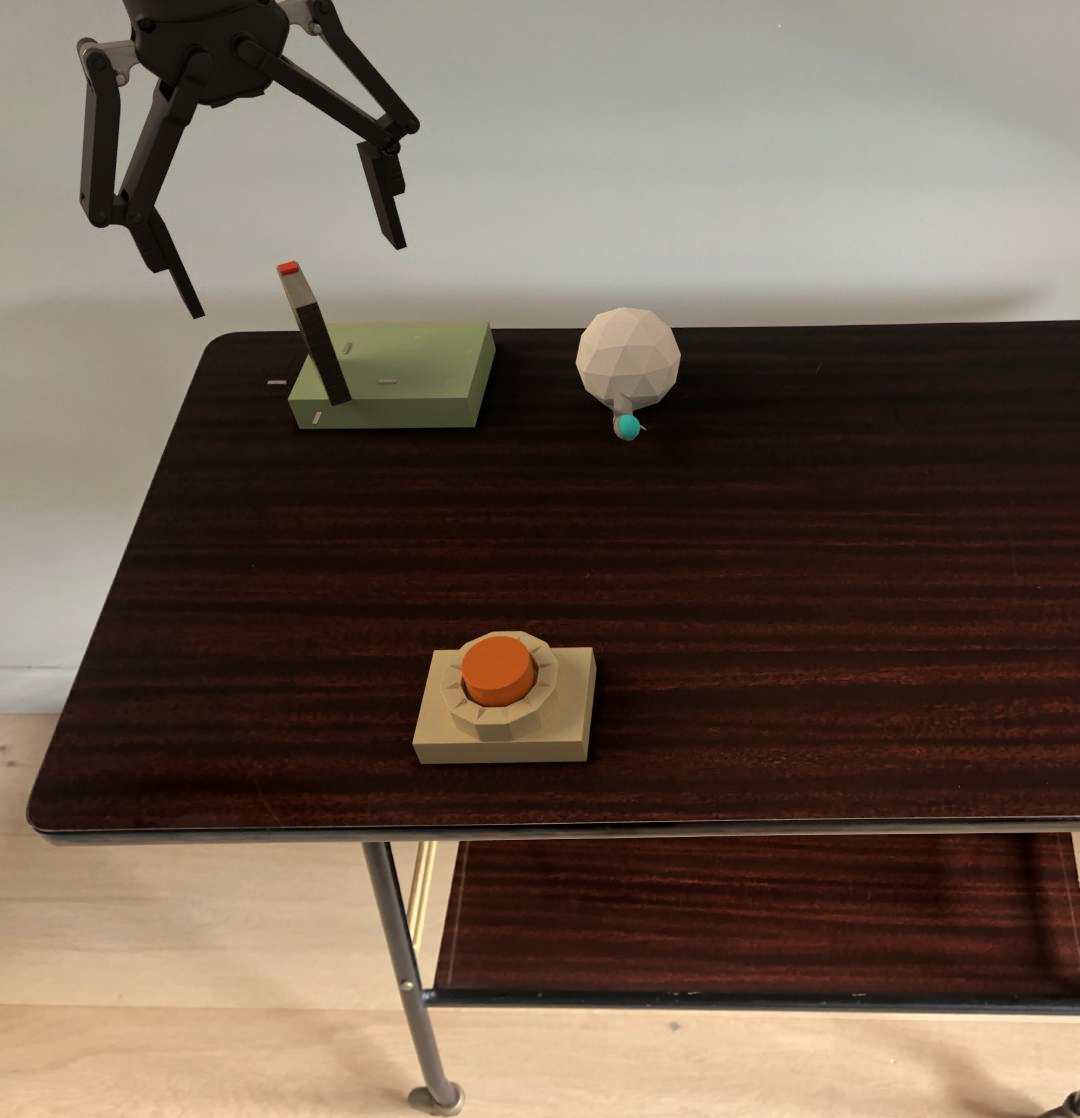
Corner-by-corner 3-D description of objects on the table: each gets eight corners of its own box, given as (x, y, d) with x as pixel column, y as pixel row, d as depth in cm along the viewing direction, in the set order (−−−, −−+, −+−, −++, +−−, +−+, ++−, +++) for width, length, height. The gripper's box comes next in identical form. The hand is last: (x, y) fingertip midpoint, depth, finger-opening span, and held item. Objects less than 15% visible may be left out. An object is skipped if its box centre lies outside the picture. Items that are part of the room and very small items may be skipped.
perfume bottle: (697, 324, 92) (708, 435, 85) (621, 373, 95) (625, 483, 88) (632, 266, 86) (639, 379, 79) (554, 321, 90) (554, 433, 83)
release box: (420, 764, 68) (404, 726, 65) (441, 671, 73) (427, 631, 70) (586, 761, 68) (577, 723, 65) (596, 668, 73) (588, 628, 70)
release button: (462, 707, 66) (455, 690, 65) (473, 654, 69) (467, 636, 68) (529, 706, 66) (524, 689, 65) (538, 652, 69) (533, 634, 68)
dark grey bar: (352, 400, 87) (316, 298, 80) (332, 407, 87) (293, 305, 80) (332, 359, 91) (296, 258, 84) (312, 365, 90) (274, 264, 83)
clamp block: (261, 455, 88) (247, 424, 85) (308, 352, 96) (296, 322, 94) (467, 453, 87) (459, 422, 85) (495, 350, 96) (488, 319, 94)
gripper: (371, -142, 66) (449, 192, 82) (-101, -46, 57) (88, 310, 72) (421, -109, 62) (493, 237, 77) (-80, 1, 53) (116, 368, 68)
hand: (297, 273), depth 75 cm, fingers open, 13 cm apart
